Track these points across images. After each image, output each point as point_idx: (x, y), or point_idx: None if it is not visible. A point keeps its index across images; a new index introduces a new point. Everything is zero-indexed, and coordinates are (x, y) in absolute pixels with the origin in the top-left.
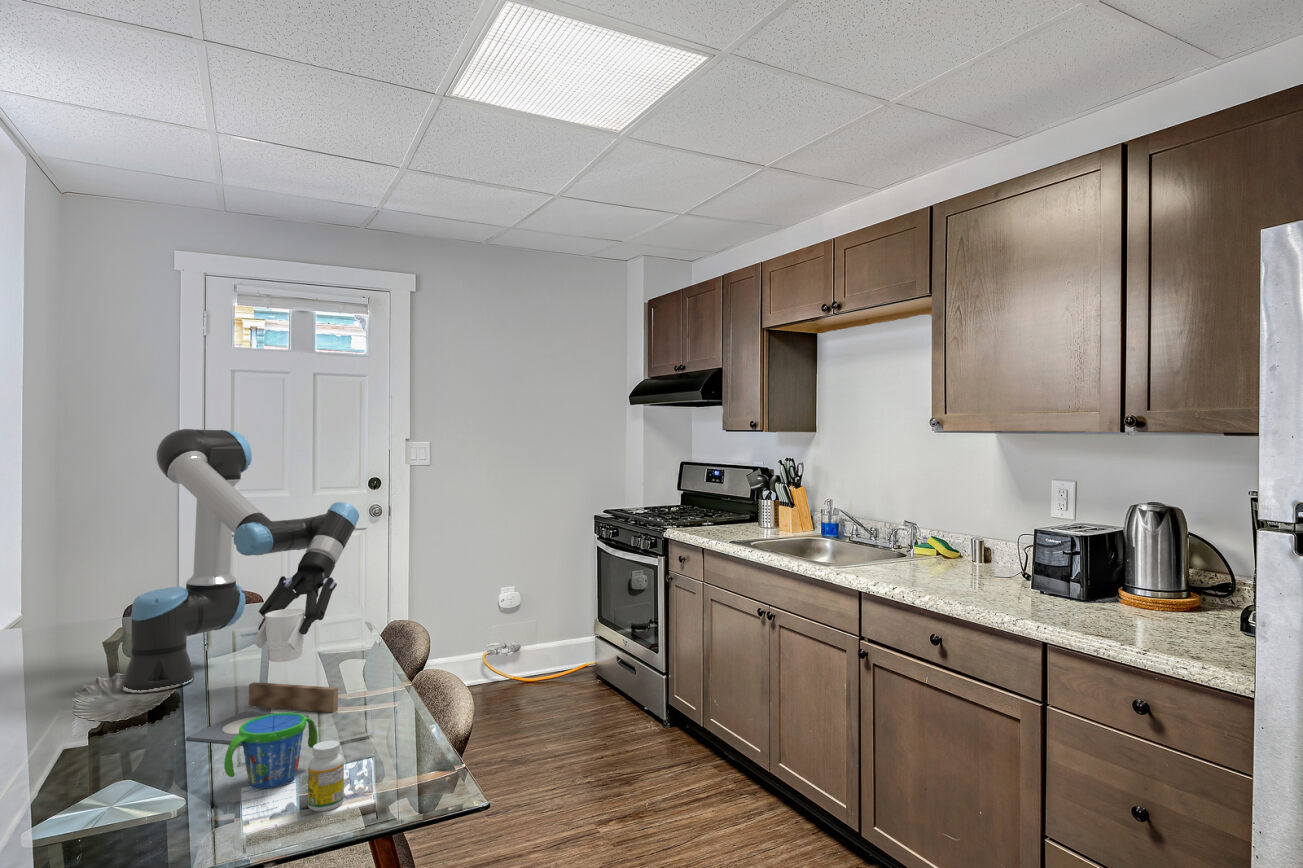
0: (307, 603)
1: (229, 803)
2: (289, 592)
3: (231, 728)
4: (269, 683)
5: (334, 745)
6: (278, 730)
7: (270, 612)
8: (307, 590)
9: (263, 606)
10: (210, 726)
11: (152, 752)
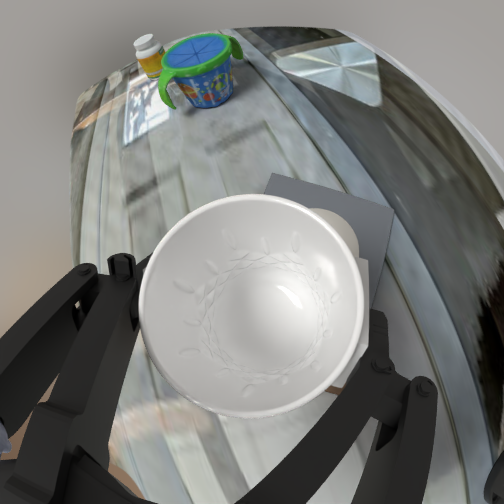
0: (101, 331)
1: (236, 65)
2: (244, 499)
3: (340, 233)
4: (337, 392)
5: (137, 40)
6: (186, 45)
7: (351, 338)
8: (64, 416)
9: (427, 413)
10: (384, 255)
11: (407, 173)
